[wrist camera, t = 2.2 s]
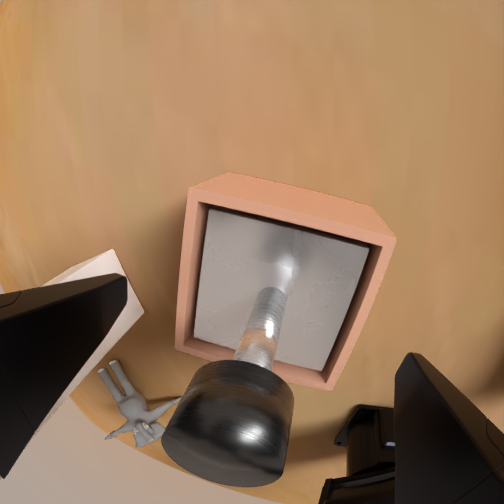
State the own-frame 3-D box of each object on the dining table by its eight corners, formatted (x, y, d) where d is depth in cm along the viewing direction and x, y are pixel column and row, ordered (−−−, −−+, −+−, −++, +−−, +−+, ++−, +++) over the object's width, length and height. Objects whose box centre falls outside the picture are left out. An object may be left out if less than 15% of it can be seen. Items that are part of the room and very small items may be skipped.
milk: (146, 311, 24) (-25, 521, 4) (100, 321, 26) (-49, 484, 6) (113, 245, 22) (-114, 425, 2) (71, 265, 24) (-110, 407, 4)
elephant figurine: (141, 339, 26) (195, 422, 24) (151, 343, 31) (196, 411, 29) (60, 386, 22) (111, 466, 20) (82, 383, 28) (125, 450, 26)
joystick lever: (321, 361, 16) (309, 519, 7) (198, 329, 17) (115, 463, 8) (366, 243, 13) (427, 403, 4) (214, 205, 14) (73, 307, 5)
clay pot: (330, 326, 21) (331, 391, 15) (210, 295, 22) (174, 349, 16) (370, 206, 17) (396, 238, 12) (229, 172, 19) (188, 187, 13)
